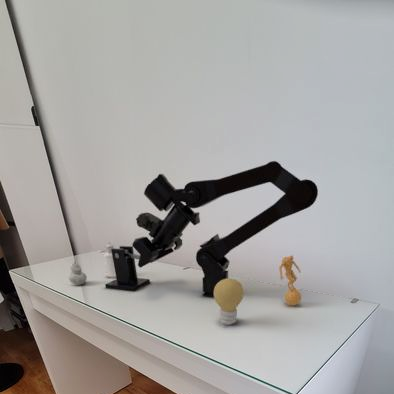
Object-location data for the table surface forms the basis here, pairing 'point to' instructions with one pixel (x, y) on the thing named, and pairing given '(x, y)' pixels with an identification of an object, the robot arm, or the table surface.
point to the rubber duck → (77, 274)
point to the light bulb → (228, 299)
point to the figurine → (293, 294)
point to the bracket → (125, 271)
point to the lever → (131, 255)
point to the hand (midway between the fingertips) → (144, 263)
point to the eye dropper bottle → (109, 261)
